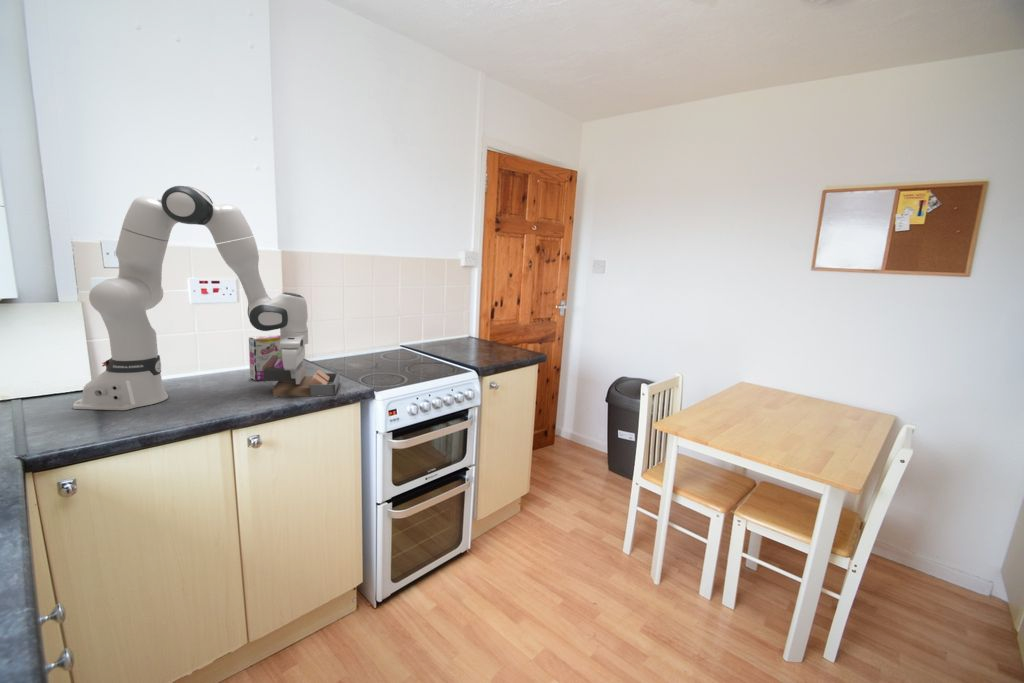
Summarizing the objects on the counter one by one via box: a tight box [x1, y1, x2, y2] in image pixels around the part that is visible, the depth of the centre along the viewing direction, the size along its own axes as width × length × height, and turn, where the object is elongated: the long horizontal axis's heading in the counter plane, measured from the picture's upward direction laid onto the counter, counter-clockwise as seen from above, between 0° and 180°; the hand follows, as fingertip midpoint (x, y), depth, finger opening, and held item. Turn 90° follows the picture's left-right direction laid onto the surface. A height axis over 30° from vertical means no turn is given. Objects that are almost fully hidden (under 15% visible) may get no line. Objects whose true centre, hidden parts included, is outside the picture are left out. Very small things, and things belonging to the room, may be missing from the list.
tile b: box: [312, 369, 330, 382], centre depth 165 cm, size 5×5×3 cm
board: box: [272, 375, 313, 398], centre depth 160 cm, size 12×15×3 cm
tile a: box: [309, 374, 328, 385], centre depth 159 cm, size 5×5×3 cm
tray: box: [310, 372, 341, 397], centre depth 163 cm, size 8×16×4 cm, turn 16°
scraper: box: [263, 361, 306, 384], centre depth 158 cm, size 12×12×5 cm
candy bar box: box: [248, 334, 284, 382], centre depth 171 cm, size 11×5×16 cm, turn 144°
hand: (295, 376), depth 159 cm, fingers closed on scraper, 3 cm apart
